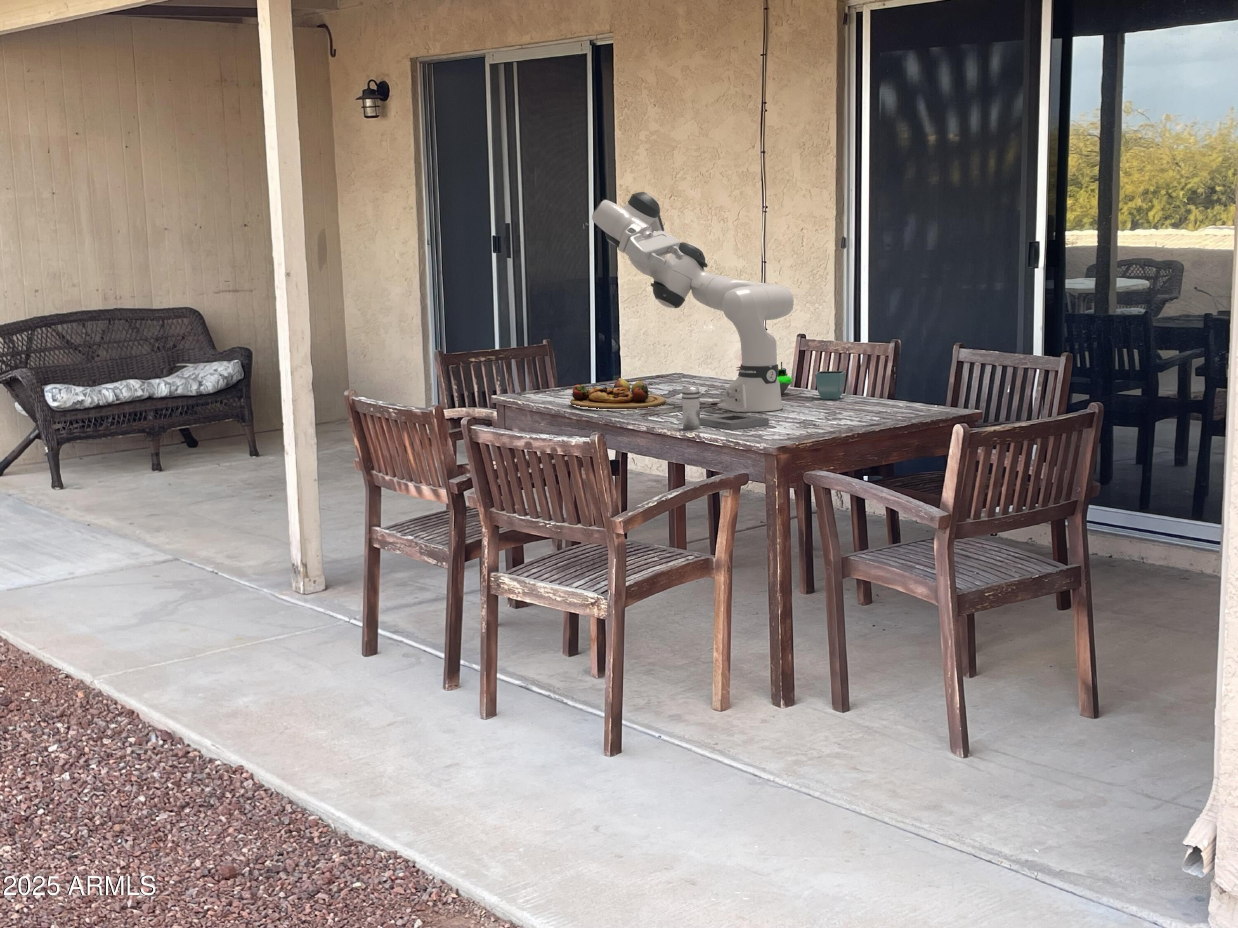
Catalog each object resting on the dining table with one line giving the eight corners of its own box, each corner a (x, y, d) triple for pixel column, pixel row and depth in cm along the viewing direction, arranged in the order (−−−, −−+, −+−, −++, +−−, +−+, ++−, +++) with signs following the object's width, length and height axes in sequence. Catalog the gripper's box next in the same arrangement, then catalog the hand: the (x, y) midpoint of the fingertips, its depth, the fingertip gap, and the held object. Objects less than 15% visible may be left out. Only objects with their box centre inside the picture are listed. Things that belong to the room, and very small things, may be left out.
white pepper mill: (679, 428, 402) (677, 387, 400) (693, 426, 405) (692, 386, 403) (689, 430, 398) (688, 389, 396) (704, 428, 401) (703, 387, 399)
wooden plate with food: (558, 412, 450) (558, 387, 448) (584, 398, 480) (583, 375, 479) (654, 414, 442) (654, 388, 441) (674, 400, 473) (674, 376, 471)
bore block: (697, 424, 409) (697, 417, 409) (734, 419, 417) (734, 413, 416) (731, 430, 396) (731, 423, 396) (768, 424, 404) (768, 418, 403)
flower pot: (820, 397, 462) (819, 370, 461) (846, 397, 459) (846, 370, 458) (814, 400, 454) (814, 373, 452) (841, 400, 451) (841, 373, 450)
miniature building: (773, 392, 482) (772, 360, 481) (798, 393, 474) (798, 361, 472) (749, 395, 474) (749, 363, 473) (775, 397, 466) (774, 364, 464)
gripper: (653, 239, 415) (688, 263, 411) (614, 251, 400) (650, 276, 395) (661, 221, 412) (696, 245, 407) (622, 232, 396) (658, 257, 391)
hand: (673, 260), depth 401 cm, fingers open, 8 cm apart
